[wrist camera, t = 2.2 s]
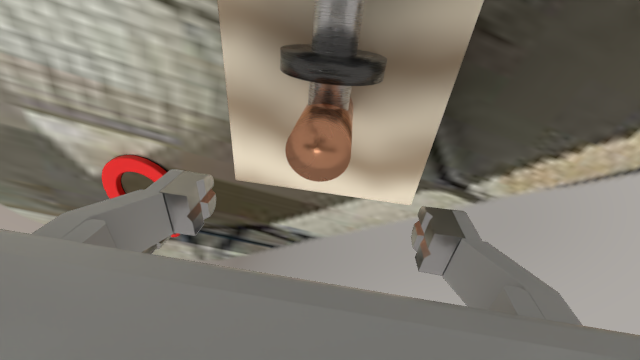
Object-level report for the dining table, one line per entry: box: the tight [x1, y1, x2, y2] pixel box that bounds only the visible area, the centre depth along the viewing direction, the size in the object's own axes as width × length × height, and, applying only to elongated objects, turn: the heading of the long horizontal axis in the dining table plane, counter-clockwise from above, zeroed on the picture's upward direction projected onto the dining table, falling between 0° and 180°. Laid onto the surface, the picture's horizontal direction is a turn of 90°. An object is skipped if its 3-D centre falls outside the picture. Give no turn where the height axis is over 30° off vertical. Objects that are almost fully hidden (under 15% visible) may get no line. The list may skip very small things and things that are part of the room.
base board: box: [217, 0, 484, 205], centre depth 18 cm, size 24×16×1 cm, turn 175°
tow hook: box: [102, 155, 180, 254], centre depth 23 cm, size 8×13×9 cm
